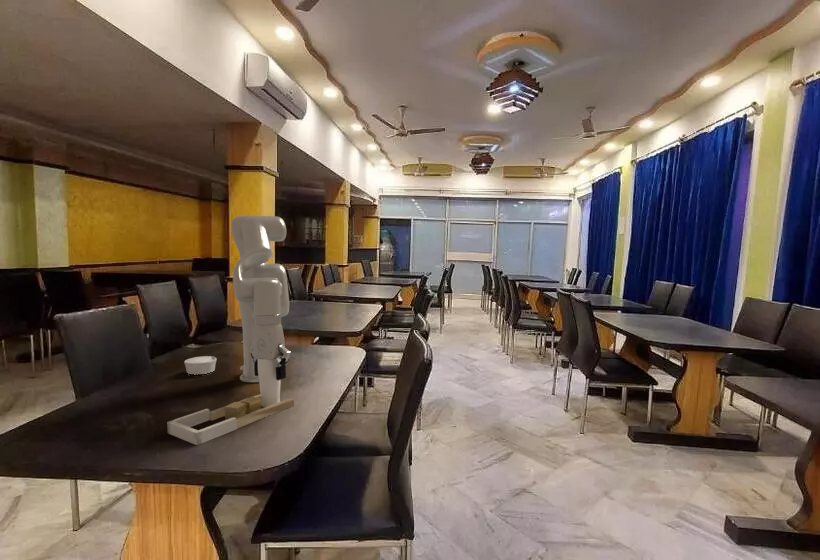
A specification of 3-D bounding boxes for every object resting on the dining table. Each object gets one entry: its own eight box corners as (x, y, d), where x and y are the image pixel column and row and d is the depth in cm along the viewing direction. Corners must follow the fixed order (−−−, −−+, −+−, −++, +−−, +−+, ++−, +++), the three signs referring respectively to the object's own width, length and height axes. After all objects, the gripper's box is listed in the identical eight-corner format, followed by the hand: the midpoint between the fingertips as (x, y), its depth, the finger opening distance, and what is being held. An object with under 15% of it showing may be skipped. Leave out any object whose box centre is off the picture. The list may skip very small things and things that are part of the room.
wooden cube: (241, 414, 125) (240, 400, 125) (252, 409, 129) (252, 396, 128) (249, 416, 123) (249, 403, 123) (261, 412, 126) (261, 398, 126)
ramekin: (219, 373, 166) (219, 360, 166) (187, 379, 160) (186, 364, 160) (214, 367, 176) (213, 354, 175) (183, 372, 169) (182, 358, 169)
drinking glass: (286, 402, 134) (285, 354, 133) (273, 410, 127) (271, 360, 126) (268, 400, 136) (266, 353, 135) (254, 408, 130) (252, 358, 128)
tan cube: (225, 420, 120) (224, 406, 120) (235, 415, 124) (234, 401, 124) (237, 422, 119) (236, 408, 119) (246, 417, 123) (246, 403, 123)
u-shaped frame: (167, 433, 112) (167, 421, 112) (207, 419, 121) (206, 408, 121) (197, 445, 105) (196, 433, 105) (236, 429, 114) (236, 418, 114)
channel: (208, 419, 121) (207, 412, 121) (266, 398, 138) (266, 392, 138) (236, 429, 114) (235, 421, 114) (294, 405, 131) (293, 399, 131)
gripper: (239, 320, 131) (241, 376, 132) (277, 324, 122) (279, 384, 123) (259, 317, 137) (261, 370, 138) (297, 320, 128) (299, 377, 129)
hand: (270, 376), depth 130 cm, fingers open, 9 cm apart
